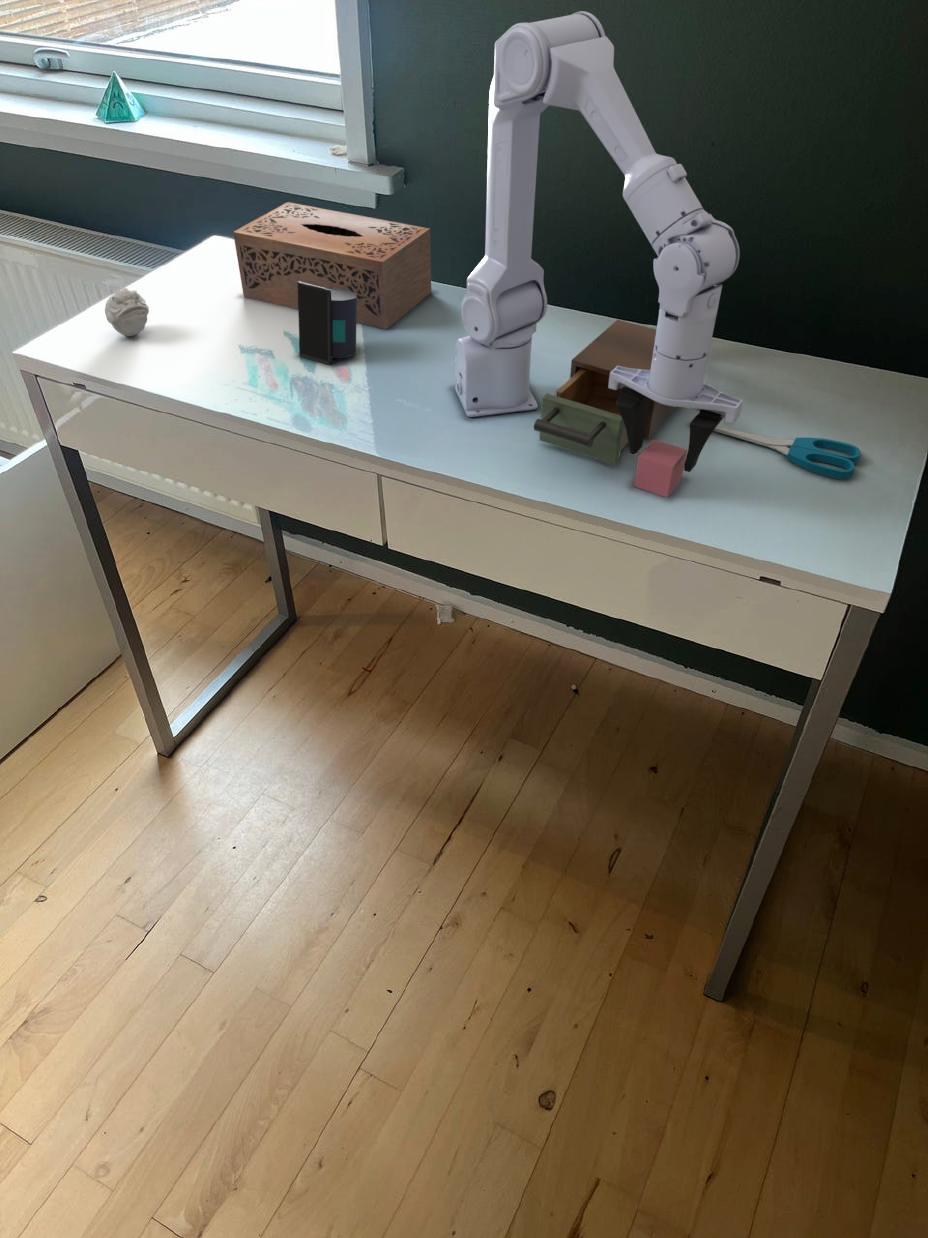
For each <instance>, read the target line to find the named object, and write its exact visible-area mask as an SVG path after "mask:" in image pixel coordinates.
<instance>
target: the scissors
mask: <svg viewBox="0 0 928 1238" xmlns="http://www.w3.org/2000/svg"><path fill="white" fill-rule="evenodd" d="M713 432H716V433H720V434H724V435H726V436H731V437H734V438H737V439H740V440H744V441H746V442H751V443H753V444H757V445H761V446H763V447H767V448H770V449H772V450H775V451H777V452H779V453H781V454H783V455H785V456H786V459H787V460H789V461H790V462H791V463H794V464H795V465H797V466H799V467H801V468H803V469H805V470H808V471H809V472H813V473H816V474H818V475H822V476H825V477H829V478H833V479H839V480H847V479H850V478H852V477H853V474H854V471H855V469H856V465H855V464H858V462H859V461H860V457H861V454H862V452H861V450H860V448H859V447H858V446H856V445H853V444H851V443H847V442H843V441H839V440H834V439H829V438H820V437H795V439H784V438H783V439H782V438H781V439H779V438H773V437H769V436H764V435H759V434H754V433H750V432H746V431H740V430H735V429H730V428H726V427H721V426H718V425H717V427H716V428H715V429H714V431H713ZM789 447H790V448H789ZM820 447H821V448H820ZM822 448H827V449H832V450H836V451H840V452H844V453H847V454H850V455H846V454H845V455H844V454H841V453H837V452H832V451H829V450H825V449H822ZM814 461H817V462H822V463H826V464H830V465H835V466H838V467H842V468H844V469H839V468H833V467H830V466H826V465H822V464H819V463H816V462H814Z"/></svg>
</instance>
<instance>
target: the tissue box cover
mask: <svg viewBox="0 0 928 1238" xmlns="http://www.w3.org/2000/svg"><path fill="white" fill-rule="evenodd" d="M232 234H233V239H234V248H235V251H236V258H237V264H238V270H239V271H238V272H239V276H240V283H241V289H242V295H243V297H244V298H247V299H250V300H251V299H253V300H257V301H261V302H264V303H269V304H273V305H277V306H278V305H279V306H283V307H287V308H291V309H296V310H298V283H297V282H299V281H300V282H304V283H308V284H311V285H315V286H319V287H323V288H327V289H344V290H349V291H352V292H354V293H356V294H357V314H356V324H361V325H366V326H370V327H374V328H378V329H382V330H388V329H389V328H390V327H391V326H393V325H394V324H395V323H396V322H397V321H399V320H400V319H401V318H403V316H405V315H407V313H408V312H410V311H411V310H412V309H414V307H416V306H417V305H418V304H420V303H421V302H422V301H423V300H424V299H426V298H427V297H428V296H429V295H431V294H432V261H431V259H432V258H431V257H432V255H431V228H429V227H424V226H423V227H422V226H419V225H413V224H409V223H402V222H398V221H392V220H387V219H380V218H375V217H369V216H364V215H360V214H354V213H349V212H343V211H338V210H333V209H326V208H321V207H316V206H311V205H306V204H300V203H296V202H295V203H294V202H290V201H286V202H284V203H283V204H281V205H279V206H277V207H276V208H274V209H272V210H270V211H269V212H267V213H264V214H263V215H261V216H260V217H258V218H255V219H254V220H252V221H250V222H249V223H247V224H245V225H243V226H241V227H239V228H238V229H236V230H234V231H232Z"/></svg>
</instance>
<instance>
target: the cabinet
mask: <svg viewBox="0 0 928 1238" xmlns="http://www.w3.org/2000/svg"><path fill="white" fill-rule="evenodd" d="M656 330H657V328H656V329H655V328H653V327H648V326H644V325H641V324H636V323H632V322H628V321H625V320H621V319H616V320H615V321H614V322H612V323H611V325H610V326H608V327H607V328H606V329H605V330H604V331H603V332H601V333H600V334H599V335H598V336H597V337H595V339H594V340H592V342H590V343H589V344H588V345H587V346H585V348H583V349H582V350H581V351H580V352H579V353H577V355H575V356H574V357H573V358H572V359H571V363H570V364H571V365H570V374H569V375H570V376H569V379H570V378H571V377H572V376H574V375H575V374H576V373H577V372H578V371H579V370H580V369H581V368H584V369H587V370H591V371H595V372H598V373H602V374H605V375H609V376H610V372H611V371H612V370H613V369H614V368H615V367H616V366H621V367H626V368H633V369H642V370H651V363H652V356H653V350H654V343H655V337H656ZM676 408H677V407H675V406H668V405H664V404H660V403H658V402H656V401H654V400H652V399H651V402H650V405H649V409H648V414H647V418H646V425H645V434H644V439H647V440H649V439H651V437H652V435H654V433H655V432H657V430H658V429H659V428H660V427H661V425H662V424H664V422H665V421H666V420H667V419H668V418H669V417H670V416H671V415H672V413H673V412H674V411H675V410H676Z"/></svg>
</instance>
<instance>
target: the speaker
mask: <svg viewBox="0 0 928 1238" xmlns="http://www.w3.org/2000/svg"><path fill="white" fill-rule="evenodd" d="M297 283H298V309H297V313H298V316H297V317H298V347H299V357H300V358H303V359H306V360H310V361H314V362H317V363H321V364H325V365H327V366H332V365H333V358H337V359H340V358H341V359H343V358H348V357H353V356H354V355H356V354H357V323H356V314H357V294H356V293H354V292H352V291H349V290H344V289H327V288H323V287H319V286H315V285H311V284H308V283H304V282H300V281H299V282H297Z"/></svg>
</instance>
